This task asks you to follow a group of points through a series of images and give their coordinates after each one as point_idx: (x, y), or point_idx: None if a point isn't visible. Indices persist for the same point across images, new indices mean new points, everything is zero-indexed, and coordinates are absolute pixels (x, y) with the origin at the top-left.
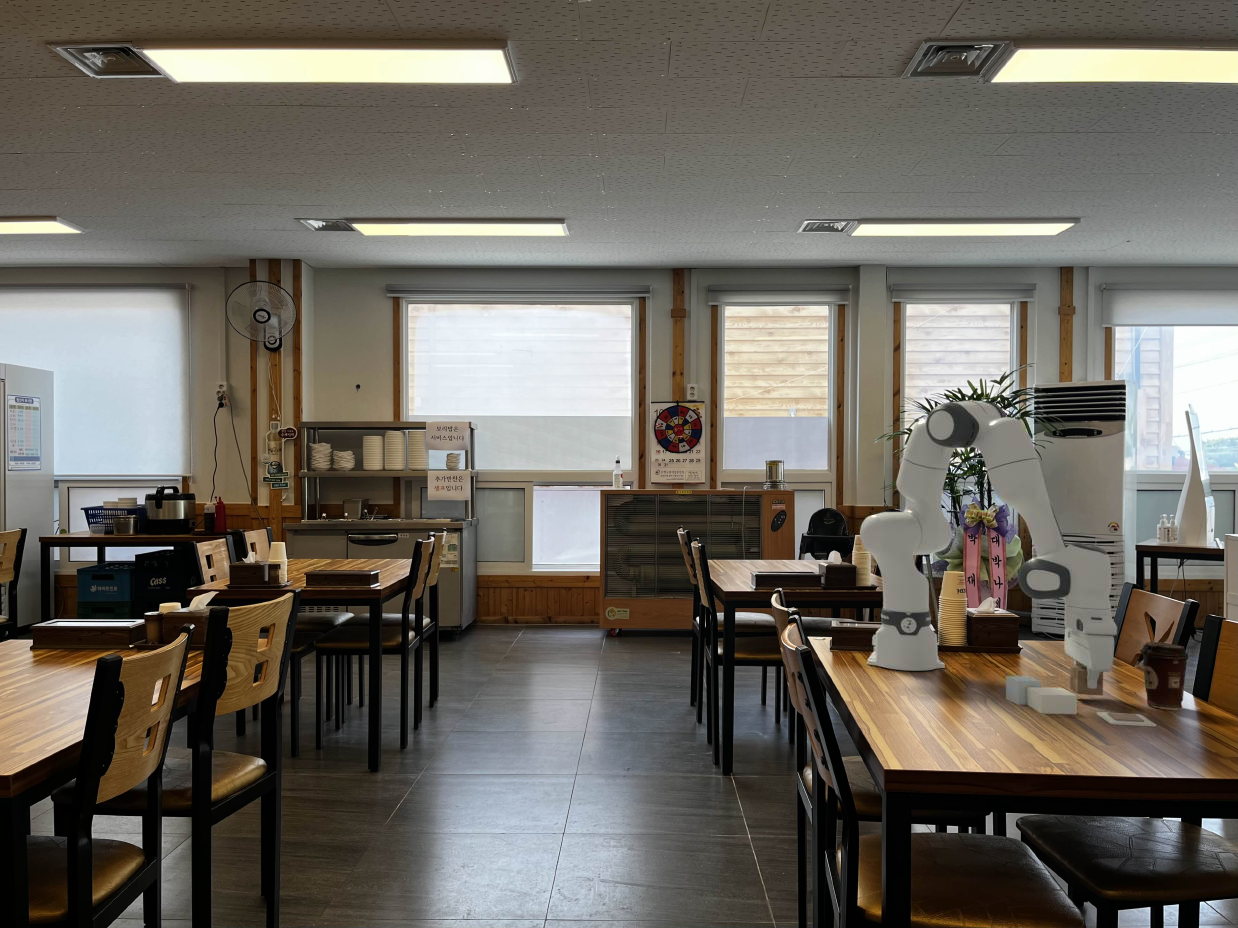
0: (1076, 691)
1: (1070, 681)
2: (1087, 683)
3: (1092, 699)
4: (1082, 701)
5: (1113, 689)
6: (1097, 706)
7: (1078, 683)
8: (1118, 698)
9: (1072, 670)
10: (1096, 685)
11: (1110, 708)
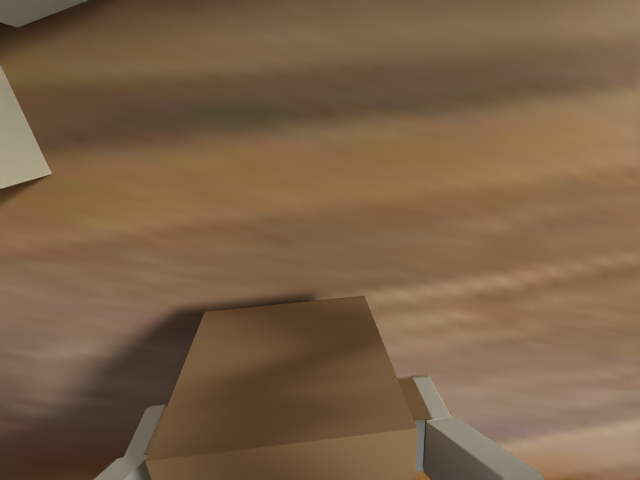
0: (224, 316)
1: (369, 324)
2: (147, 424)
3: None
4: None
5: (563, 468)
6: (143, 364)
7: (186, 365)
8: None
9: (337, 404)
10: None
11: (122, 411)
